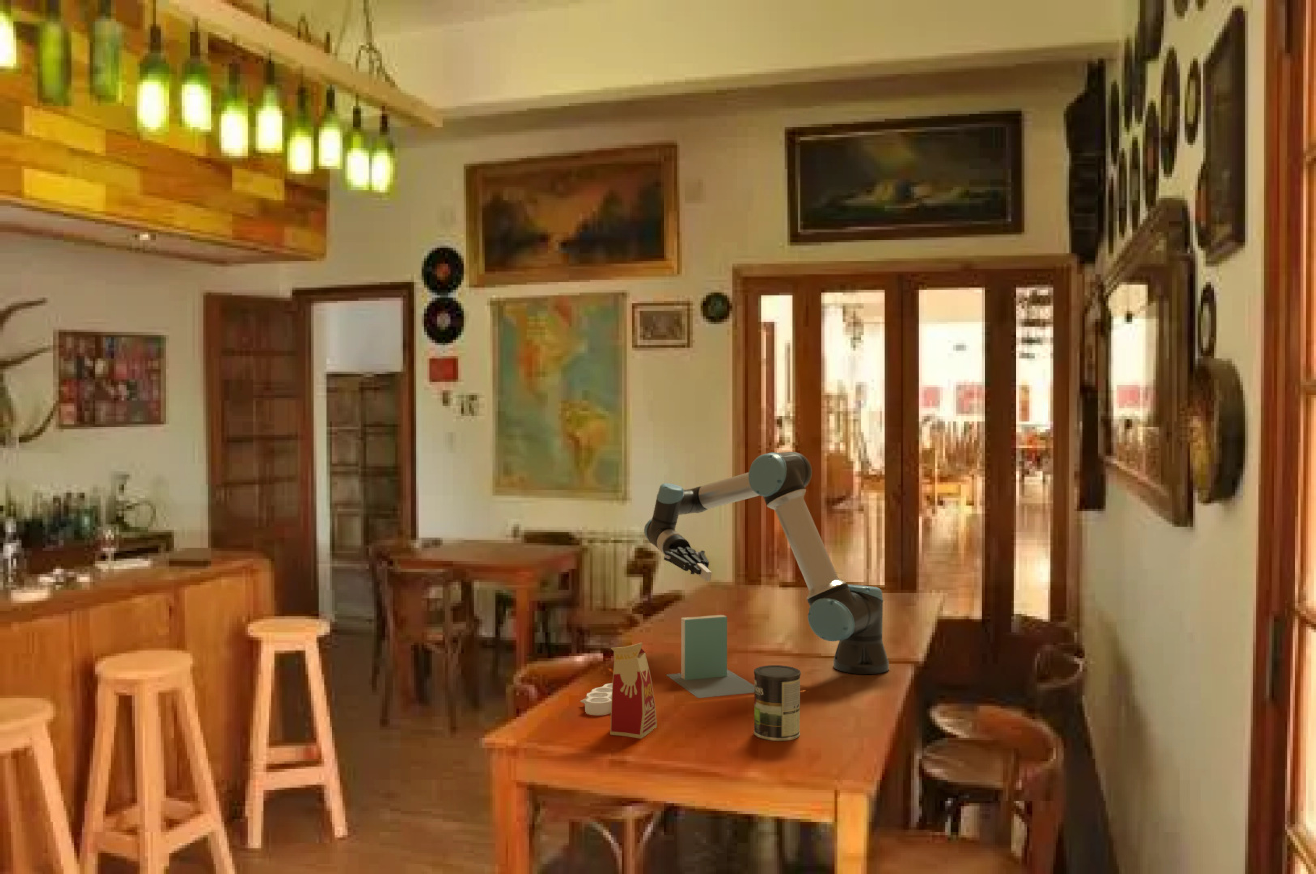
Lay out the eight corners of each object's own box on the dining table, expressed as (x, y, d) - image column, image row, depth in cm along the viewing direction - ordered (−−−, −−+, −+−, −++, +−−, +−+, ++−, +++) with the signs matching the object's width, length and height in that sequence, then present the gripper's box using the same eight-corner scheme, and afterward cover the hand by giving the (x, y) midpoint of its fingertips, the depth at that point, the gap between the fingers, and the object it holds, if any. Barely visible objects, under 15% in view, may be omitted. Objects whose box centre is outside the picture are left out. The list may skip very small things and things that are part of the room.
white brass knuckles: (630, 720, 239) (571, 715, 242) (651, 699, 256) (596, 694, 260) (630, 705, 238) (571, 701, 242) (651, 685, 256) (596, 681, 260)
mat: (665, 676, 276) (665, 674, 276) (727, 671, 282) (727, 669, 282) (698, 700, 253) (698, 698, 253) (764, 693, 259) (764, 691, 259)
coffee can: (758, 742, 221) (758, 677, 221) (750, 727, 231) (750, 665, 231) (805, 740, 222) (805, 676, 222) (794, 726, 232) (795, 664, 232)
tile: (681, 677, 273) (681, 617, 273) (722, 673, 277) (722, 614, 277) (685, 680, 270) (685, 620, 270) (727, 676, 274) (727, 616, 274)
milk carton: (657, 726, 232) (656, 639, 231) (643, 739, 223) (643, 648, 223) (619, 722, 235) (619, 636, 234) (604, 734, 226) (604, 644, 226)
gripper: (692, 557, 305) (727, 588, 284) (652, 558, 300) (685, 590, 279) (695, 534, 303) (731, 563, 282) (655, 534, 298) (689, 564, 277)
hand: (708, 576), depth 281 cm, fingers closed
